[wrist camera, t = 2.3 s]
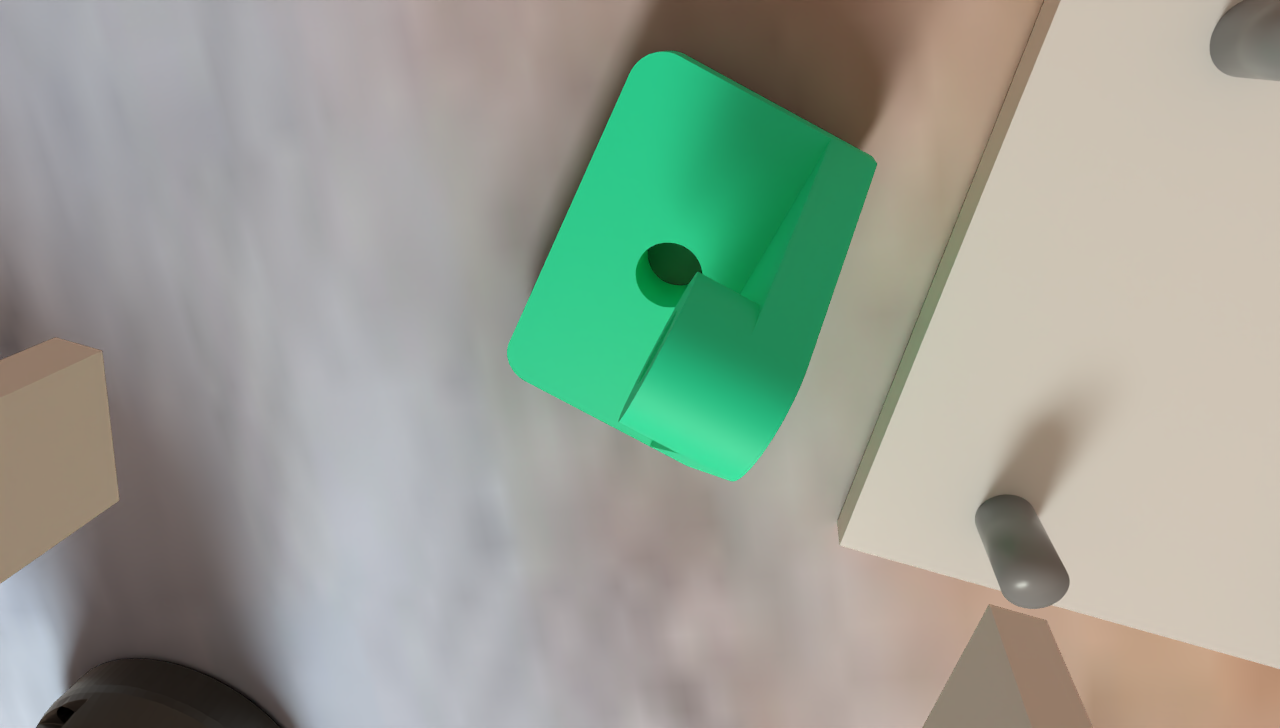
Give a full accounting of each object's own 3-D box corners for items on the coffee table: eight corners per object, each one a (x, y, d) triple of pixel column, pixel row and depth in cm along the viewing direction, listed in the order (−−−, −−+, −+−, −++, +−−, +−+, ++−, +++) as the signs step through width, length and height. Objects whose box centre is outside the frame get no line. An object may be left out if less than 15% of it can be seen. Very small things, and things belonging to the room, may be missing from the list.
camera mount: (659, 37, 24) (579, 39, 15) (868, 151, 24) (919, 223, 15) (521, 340, 29) (398, 482, 20) (695, 431, 29) (653, 614, 20)
